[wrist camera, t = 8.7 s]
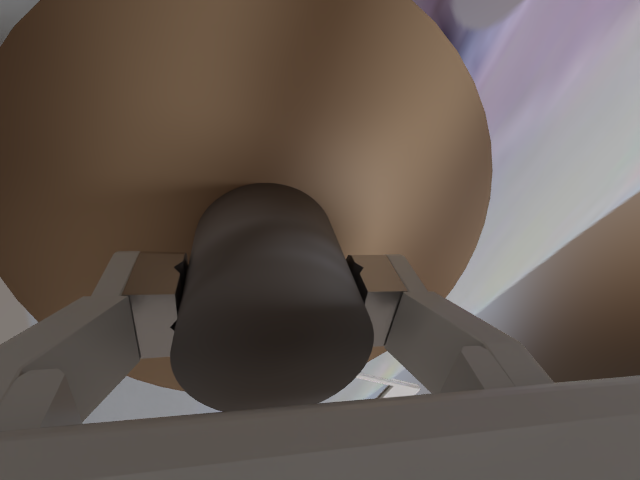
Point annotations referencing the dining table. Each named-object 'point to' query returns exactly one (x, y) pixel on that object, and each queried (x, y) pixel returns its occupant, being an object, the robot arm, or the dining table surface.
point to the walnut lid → (240, 173)
